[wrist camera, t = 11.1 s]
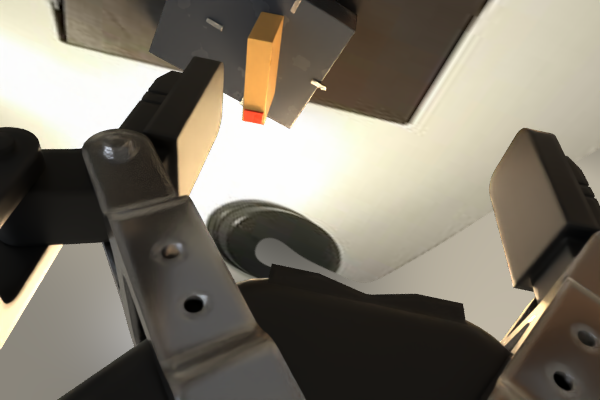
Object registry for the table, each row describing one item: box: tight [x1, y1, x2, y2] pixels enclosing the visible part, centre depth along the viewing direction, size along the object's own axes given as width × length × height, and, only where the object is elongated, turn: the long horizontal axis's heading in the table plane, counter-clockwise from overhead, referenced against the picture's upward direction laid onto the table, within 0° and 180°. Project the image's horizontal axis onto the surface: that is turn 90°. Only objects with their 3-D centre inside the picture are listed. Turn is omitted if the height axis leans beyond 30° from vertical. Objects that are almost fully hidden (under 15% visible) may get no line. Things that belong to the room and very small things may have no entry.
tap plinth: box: [149, 0, 357, 129], centre depth 38 cm, size 15×11×4 cm
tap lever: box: [242, 12, 284, 125], centre depth 36 cm, size 7×2×5 cm, turn 172°
